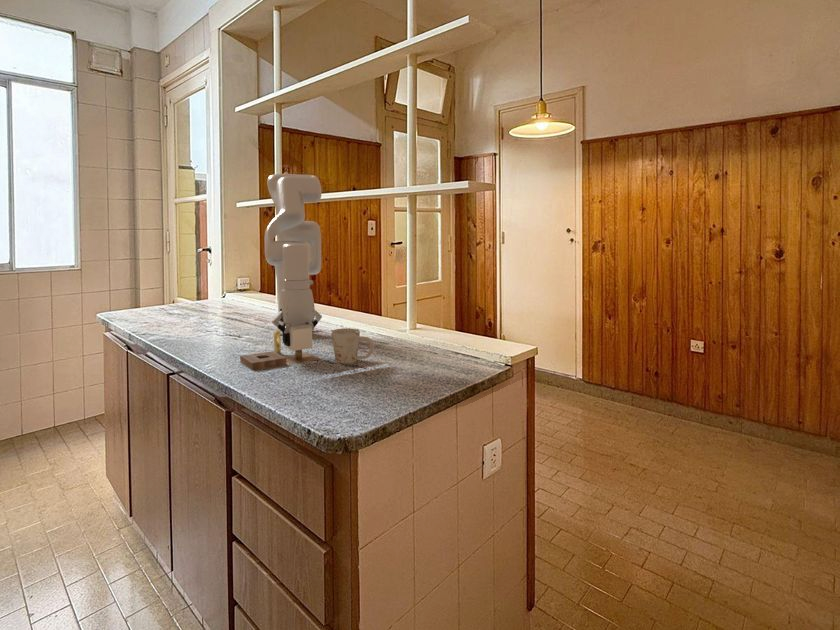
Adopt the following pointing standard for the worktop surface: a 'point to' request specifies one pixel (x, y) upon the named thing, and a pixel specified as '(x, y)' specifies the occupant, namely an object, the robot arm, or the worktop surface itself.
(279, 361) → the socket tile
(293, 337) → the block
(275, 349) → the brass pin
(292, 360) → the tile
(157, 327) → the worktop surface
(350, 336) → the mug
